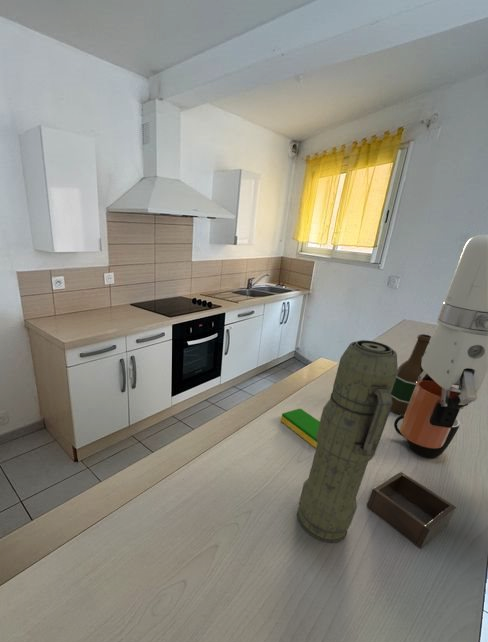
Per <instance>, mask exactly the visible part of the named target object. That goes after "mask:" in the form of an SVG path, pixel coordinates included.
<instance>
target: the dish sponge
mask: <svg viewBox="0 0 488 642" xmlns="http://www.w3.org/2000/svg"><path fill="white" fill-rule="evenodd" d="M280 422H282V423H283V424H284V425H286V426H287V427H288V428H289V429H290V430H292V431H293V432H294V433H295V434H297V435H298V436H299V437H301V438H302V439H303V440H305V441H306V442H307V443H309V444H310V445H311V446H312V447H314V448H315V449H316V447H317V443H318V442H317V438H316V436H317V431H318V427H319V423H320V420H318V419H317V418H315V417H314V416H313V415H311V414H310V413H308V412H307V411H305V410H304V409H302V408H297V409H292V410H289V411H286V412H282V413H281V418H280Z"/></svg>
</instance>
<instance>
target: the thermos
mask: <svg viewBox="0 0 488 642" xmlns="http://www.w3.org/2000/svg"><path fill="white" fill-rule="evenodd" d="M398 368H399V365H398V354H397V351H396V350H394V349H393V348H392V347H390V346H389V345H388V344H385V343H382V342H378V341H374V340H368V339H367V340H365V339H363V340H362V339H361V340H357V341H352V342H351V343H349V345H348V346H347V348H346V349H345V351H343V353H342V355H341V357H340V359H339V363H338V367H337V370H336V374H335V378H334V382H333V386H332V391H331V393H330V397H329V399H328V401H327V402H326V404H324V406H323V408H322V412H321V415H320V420H319V421H320V423H319V427H318V431H317V436H316V438H317V442H318V443H317V447H316V448H315V451H314V456H313V459H312V462H311V467H310V471H309V474H308V478H307V479H306V480H305V481H304V482H303V484H302V489H301V493H300V497H299V500H298V508H297V513H296V515H297V516H296V517H297V521H298V522H299V525H300V527H301V528H302V529H303V530H304V531H305V532H306V533H307V534H308V535H309V536H311V537H312V538H314V539H316V540H318V541H321V542H323V543H329V544H334V543H339V542H341V541H342V540H344V539H345V537H346V536H347V533H348V530H349V528H350V527H351V525H352V522H353V519H354V516H355V514H356V510H357V508H358V507H357V504H358V503H357V502H358V501H357V496H358V493H359V490H360V487H361V484H362V481H363V479H364V476H365V473H366V470H367V467H368V465H369V462H370V461H371V460H372V459H373V458H374V457H375V454H376V452H377V448H378V447H379V444H380V441H381V438H382V436H383V433H384V430H385V427H386V425H387V421H388V418H389V416H390V413H391V411H390V410H391V407H392V404H393V403H392V396H391V391H392V388H393V385H394V382H395V379H396V376H397V373H398Z"/></svg>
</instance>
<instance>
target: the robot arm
mask: <svg viewBox="0 0 488 642" xmlns="http://www.w3.org/2000/svg"><path fill="white" fill-rule="evenodd" d="M436 323H437V324H436V326H435V328H434V330H433V332H432V334H431V339H430V341H429V343H428V346H427V348H426V351H425V353H424V355H423V356H422V363H421V368H420V370H421V374H420V376H419V377H418V381H420V380H430V381H435V382H436V383H437V384H438V385H439V386H440V387H442V394H441V403H437V404H436V407H435V409H434V412H433V414H432V417H431V419H430V423H431V425H434V426H441V427H447V428H451V427H452V426H453V424H454V422H455V419H456V418H457V417H458V416H459V415H458V414H459V413H460V411H461V410H463V409H464V408H465V407H467V406H468V405H470V404H471V403H473V402H475V401H477V399H478V393H479V392H480V390H481V388H482V385H483V382H484V380H485V378H486V375H487V372H488V234H478V235H474V236H472V237H470V238H469V239H468V240H467V242H466V243H465V244H464V247H463V250H462V251H461V254H460V258H459V260H458V263H457V266H456V268H455V271H454V274H453V276H452V279H451V282H450V285H449V288H448V290H447V293H446V295H445V298H444V300H443V303H442V306H441V309H440V312H439V315H438V317H437V320H436ZM452 385H453V386H458V388H456V387H454V388H451V386H452ZM450 392H456V393H457V396H454V397H452V398H449V393H450Z"/></svg>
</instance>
